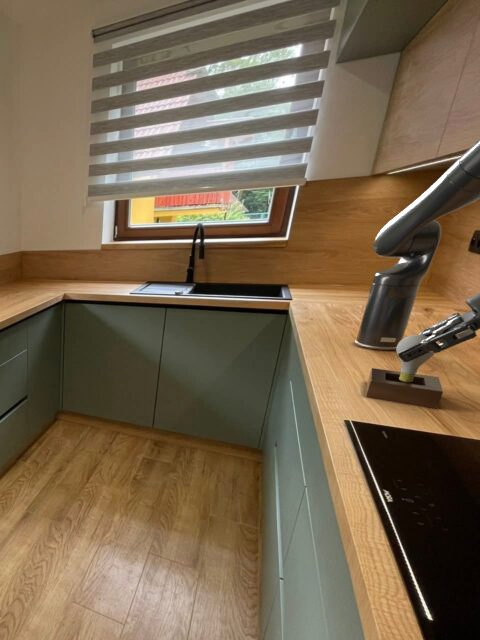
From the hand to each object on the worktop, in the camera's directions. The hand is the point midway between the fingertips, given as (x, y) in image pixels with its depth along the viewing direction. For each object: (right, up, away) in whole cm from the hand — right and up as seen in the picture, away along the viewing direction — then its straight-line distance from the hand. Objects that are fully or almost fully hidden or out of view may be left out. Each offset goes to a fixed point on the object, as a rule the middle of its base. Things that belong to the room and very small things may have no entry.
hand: (401, 354), depth 86 cm
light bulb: (+2, -6, +1) cm, 6 cm away
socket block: (+2, -8, +2) cm, 9 cm away
